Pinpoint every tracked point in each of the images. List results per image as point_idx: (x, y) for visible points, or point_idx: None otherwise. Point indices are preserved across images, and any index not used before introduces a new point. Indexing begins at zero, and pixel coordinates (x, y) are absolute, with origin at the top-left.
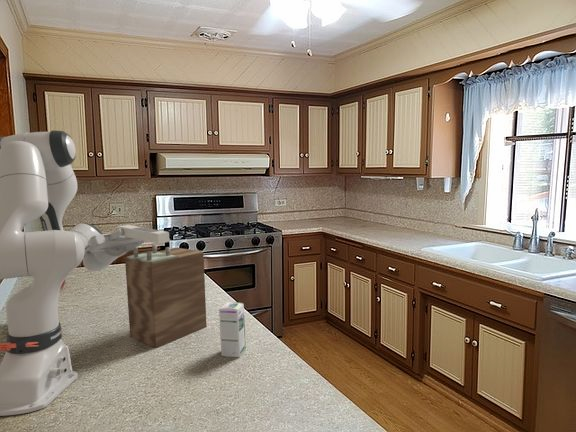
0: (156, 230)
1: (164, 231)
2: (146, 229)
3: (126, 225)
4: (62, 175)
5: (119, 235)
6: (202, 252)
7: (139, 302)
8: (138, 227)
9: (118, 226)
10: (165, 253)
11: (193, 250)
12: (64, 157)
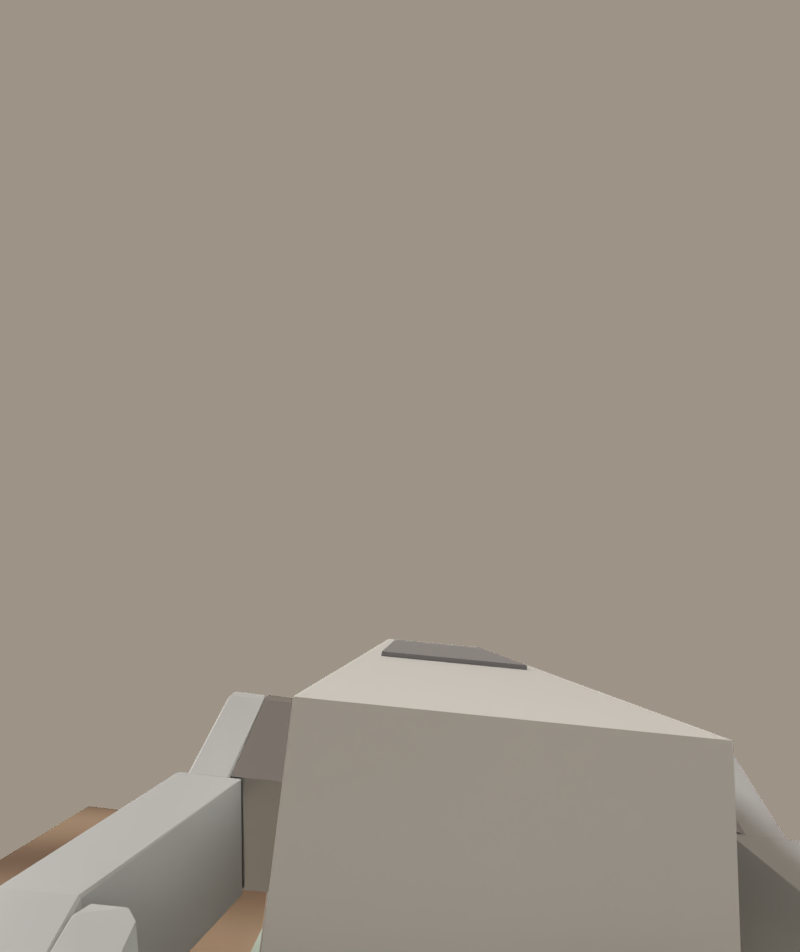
0: (411, 641)
1: (392, 640)
2: (440, 648)
3: (421, 699)
4: None
5: None
6: (98, 808)
7: None
8: (407, 660)
9: (704, 730)
10: (208, 937)
11: (21, 849)
12: None
